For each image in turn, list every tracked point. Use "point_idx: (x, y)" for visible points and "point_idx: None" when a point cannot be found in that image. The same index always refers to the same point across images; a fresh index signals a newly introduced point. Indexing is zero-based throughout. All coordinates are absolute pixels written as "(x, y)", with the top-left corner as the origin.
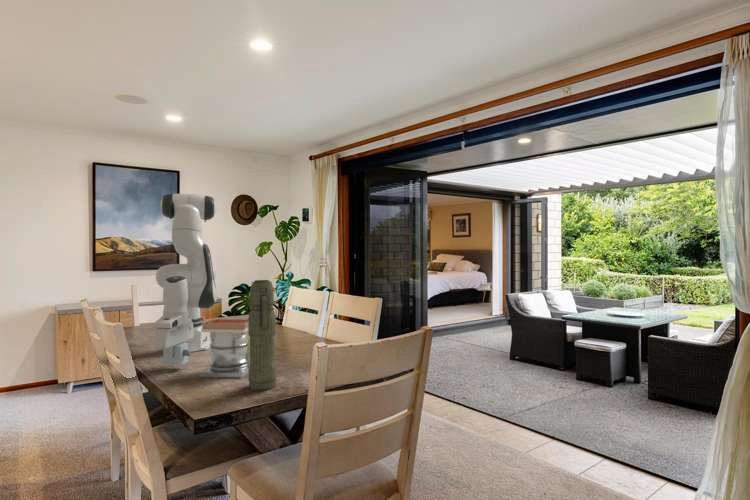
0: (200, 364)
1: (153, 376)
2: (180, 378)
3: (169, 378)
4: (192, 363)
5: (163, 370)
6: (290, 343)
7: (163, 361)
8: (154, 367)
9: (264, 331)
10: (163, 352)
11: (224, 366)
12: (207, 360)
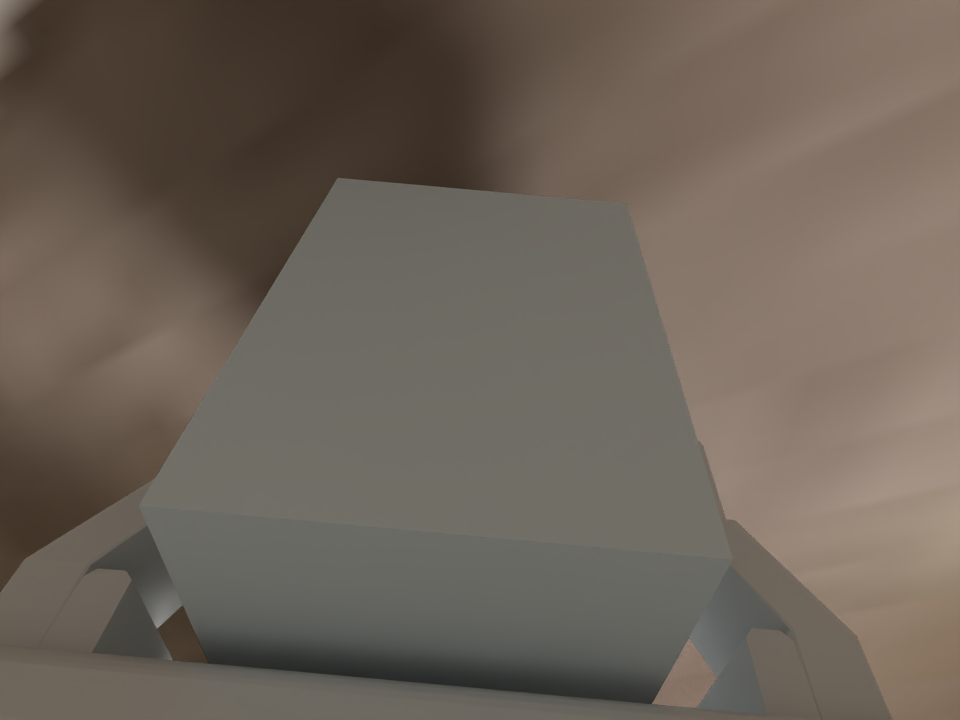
0: None
1: (10, 159)
2: (108, 494)
3: (52, 403)
4: (798, 378)
5: (370, 131)
6: None
7: (326, 205)
8: None
9: None
10: (250, 330)
11: None
12: (926, 485)
